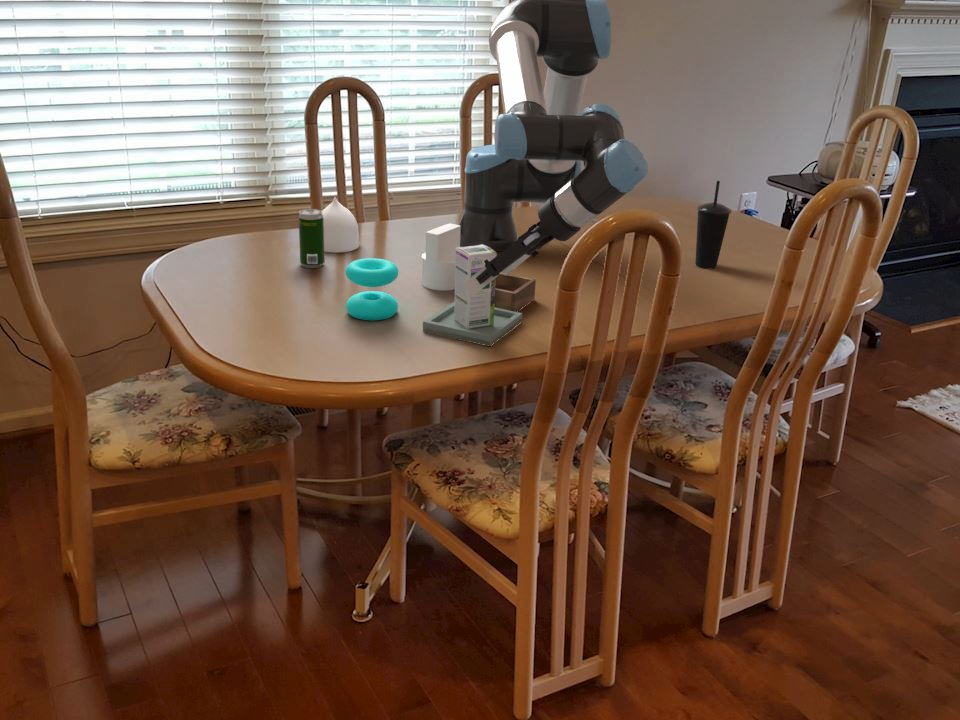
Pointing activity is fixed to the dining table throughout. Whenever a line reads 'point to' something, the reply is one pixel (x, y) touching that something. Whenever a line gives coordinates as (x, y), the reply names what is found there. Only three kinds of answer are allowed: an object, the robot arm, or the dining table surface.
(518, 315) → the tray
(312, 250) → the beer can
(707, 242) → the drinking cup
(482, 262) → the syrup box
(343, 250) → the teardrop
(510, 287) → the brown square open box
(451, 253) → the cylinder with rectangular tab
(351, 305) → the donuts
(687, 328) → the dining table surface
